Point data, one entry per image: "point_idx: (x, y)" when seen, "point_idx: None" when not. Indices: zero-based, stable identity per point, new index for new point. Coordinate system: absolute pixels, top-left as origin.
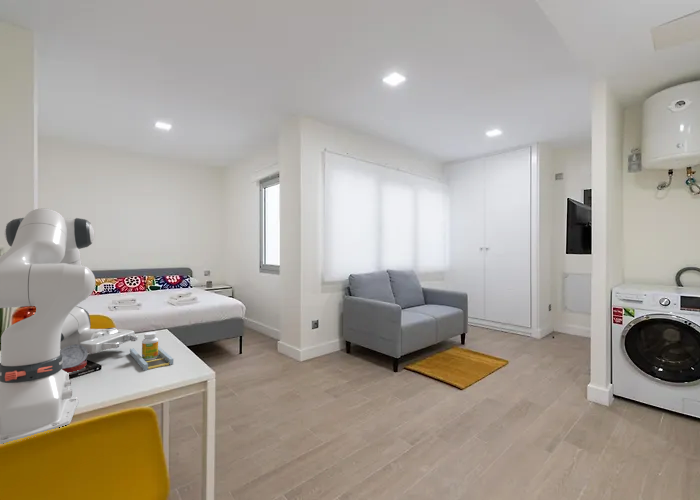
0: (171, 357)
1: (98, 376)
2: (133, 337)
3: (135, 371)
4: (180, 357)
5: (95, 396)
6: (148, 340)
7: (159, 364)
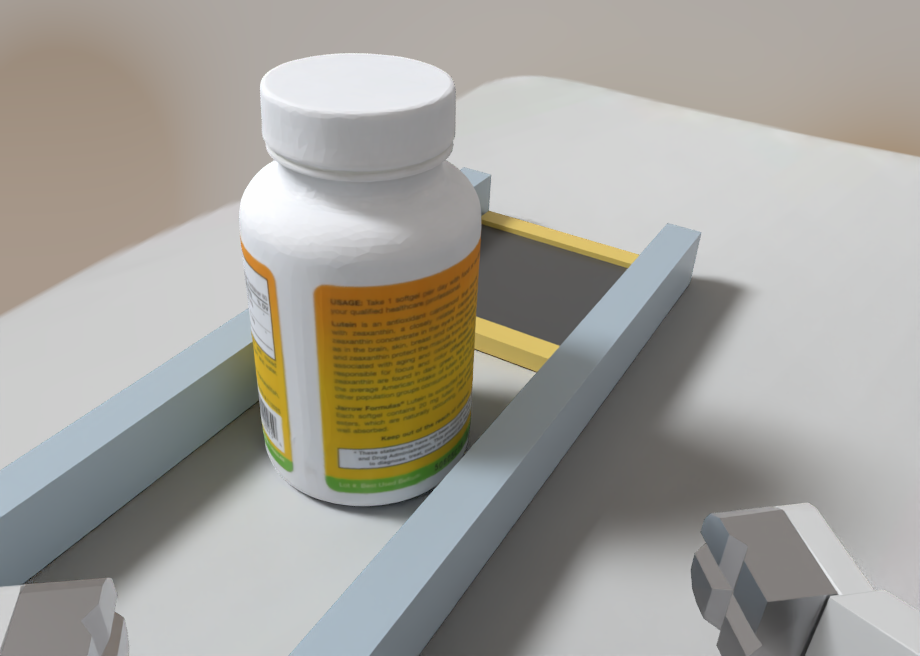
0: None
1: None
2: (89, 629)
3: (748, 318)
4: None
5: None
6: (445, 161)
7: (537, 252)
